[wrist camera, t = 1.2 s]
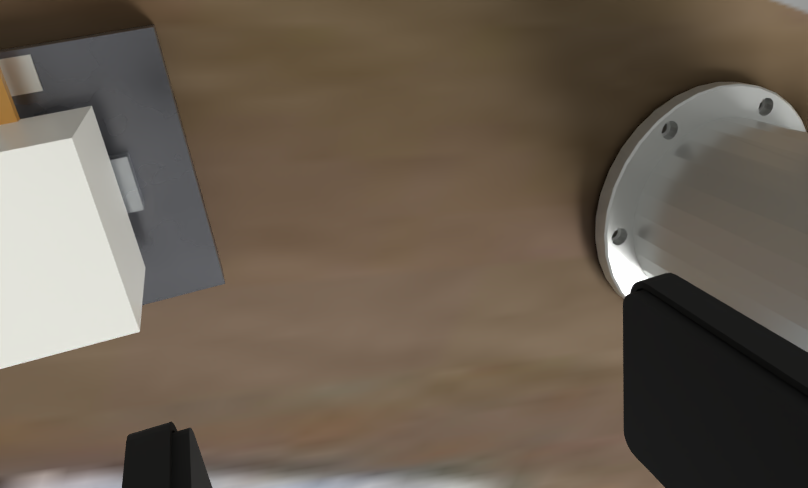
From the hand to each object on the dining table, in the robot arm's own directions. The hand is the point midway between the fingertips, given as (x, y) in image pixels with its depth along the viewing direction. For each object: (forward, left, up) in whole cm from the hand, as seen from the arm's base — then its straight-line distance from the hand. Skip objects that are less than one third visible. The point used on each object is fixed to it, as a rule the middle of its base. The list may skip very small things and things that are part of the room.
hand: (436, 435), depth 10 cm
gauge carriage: (+8, -1, -17) cm, 19 cm away
